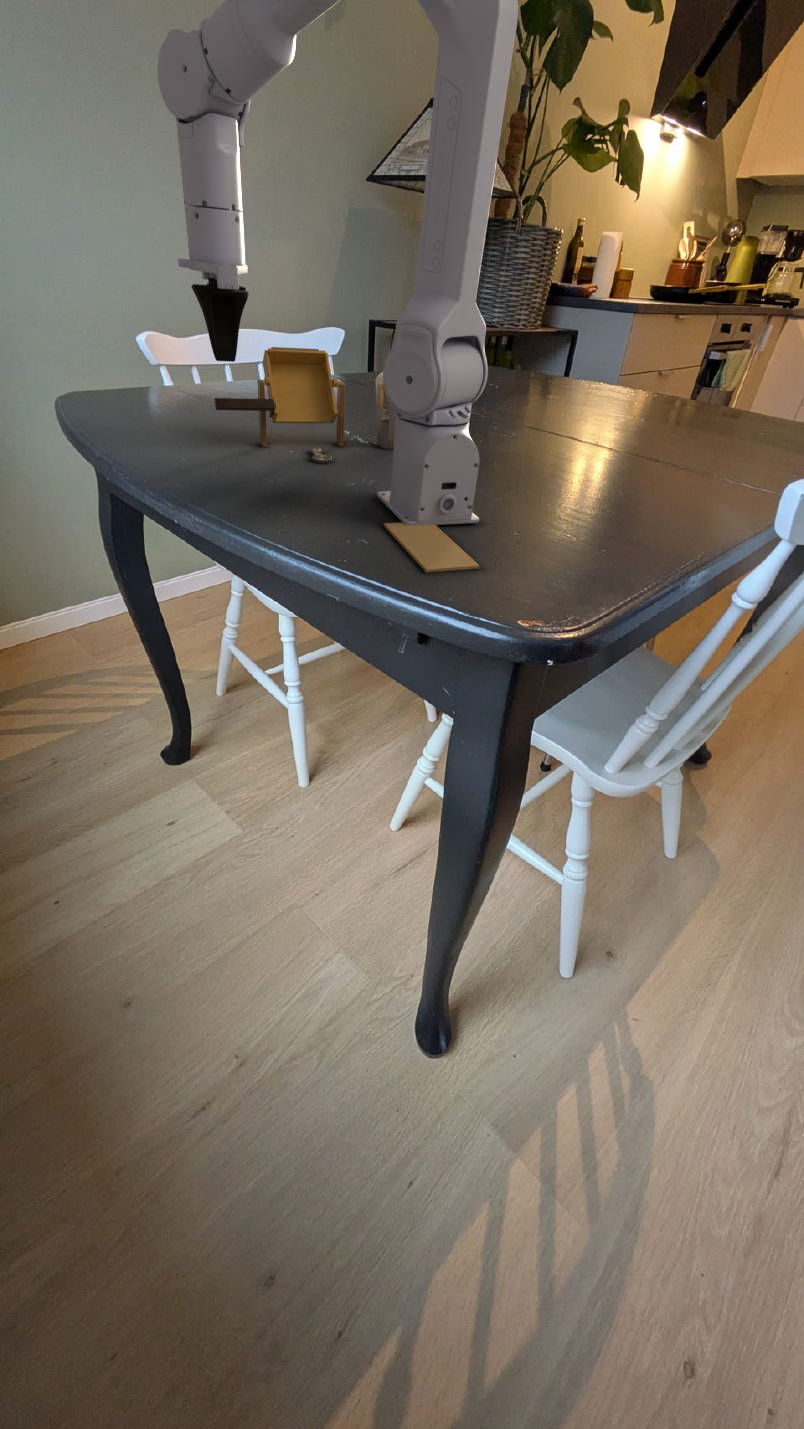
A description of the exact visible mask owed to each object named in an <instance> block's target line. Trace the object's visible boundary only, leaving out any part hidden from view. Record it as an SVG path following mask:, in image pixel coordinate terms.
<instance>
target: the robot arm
mask: <svg viewBox="0 0 804 1429" xmlns="http://www.w3.org/2000/svg"><path fill="white" fill-rule="evenodd" d="M340 1H341V0H224V1H223V2H222V3H221V4H220V6H218V8H217V9H216V10H215V11H214V12H213V13H212V14H211V15H210V16H207V17H204V19H203V20H202V21H201V23H200V27H199V28H198V29H197V30H196V29H191V30H190V31H189V32H188V31H185V30H183V29H180V28H172V29H170V30H169V31H168V32H167V35H166V37H165V39H164V40H163V42H162V44H161V46H160V49H159V52H158V59H157V80H158V86H159V90H160V94H161V98H162V100H163V102H164V105H165V106H166V108H167V110H168V111H169V112H170V114H171V115H173V116H174V117H175V121H176V132H177V142H178V143H177V144H178V152H179V163H180V174H181V183H182V194H183V196H182V197H183V203H184V213H185V216H184V217H185V222H186V223H185V224H186V225H185V226H186V236H187V247H188V256H189V259H188V258H177V262H178V263H177V264H178V267H180V268H187V269H189V270H192V271H197V272H201V279H203V280H208V282H207V283H206V284H199V283H193V284H192V285H191V289H192V291H193V293H194V295H195V297H196V300H197V302H198V304H199V307H200V310H201V312H202V315H203V317H204V321H205V325H206V329H207V332H208V337H209V342H210V347H211V350H212V353H213V356H214V359H215V361H217V362H232V363H234V362H236V358H237V353H238V352H237V351H238V345H239V344H238V343H239V335H240V334H239V332H240V326H241V320H242V316H243V312H244V310H245V307H246V303H247V301H248V299H249V294H250V293H249V291H247V289H246V288H247V287H244V286H242V285H240V281H239V280H240V279H239V276H243V275H248V272H249V270H248V265H247V264H246V250H245V230H244V213H243V199H242V179H241V177H242V176H241V163H240V162H241V159H240V154H242V153H243V152H242V151H243V149H242V148H243V147H244V127H245V125H246V124H245V123H246V121H247V118H248V115H249V113H250V107H251V99H253V97H255V96H256V95H258V93H259V92H260V91H261V90H263V89H264V88H265V87H266V86H267V85H268V84H269V83H270V82H272V81H273V80H274V79H275V78H276V77H277V76H278V75H280V74H281V73H282V72H283V71H284V70H285V69H286V68H287V67H288V66H290V65H291V64H292V63H293V60H294V58H295V54H296V46H297V35H298V34H299V33H300V32H302V31H303V30H304V29H305V28H307V27H308V26H310V25H311V24H312V23H313V22H314V21H316V20H317V19H318V18H320V17H321V16H323V15H324V14H325V13H327V11H329V10H331V9H332V8H333V7H334V6H335V5H337V4H338V3H339V2H340ZM416 1H417V2H418V4H419V6H420V8H421V9H422V11H423V12H424V14H425V16H426V17H427V19H428V20H429V22H430V23H431V25H432V27H433V28H434V31H435V32H436V34H437V36H438V49H437V51H438V52H437V61H436V72H435V80H434V90H433V102H432V103H433V104H432V112H431V121H430V129H429V130H430V132H429V143H428V154H427V162H426V171H425V172H426V173H425V182H424V190H423V191H424V193H423V202H422V210H421V211H422V213H421V220H420V221H421V223H420V232H419V240H418V241H419V242H418V254H417V263H416V273H415V281H414V282H415V283H414V292H413V294H412V297H411V299H410V301H409V302H408V303H407V305H406V306H405V308H404V309H403V311H402V312H401V314H400V315H399V316H398V318H397V320H396V323H395V333H394V339H393V343H392V346H391V348H390V350H389V352H388V354H387V357H386V358H385V362H384V365H383V369H382V372H383V385H384V390H385V393H386V396H387V398H388V401H389V402H390V404H391V405H392V407H393V408H394V412H393V416H394V417H396V419H395V433H394V448H393V449H392V463H391V464H392V465H391V478H390V490H389V491H388V490H387V491H386V490H385V491H377V493H376V497H377V498H378V499H379V500H380V501H381V502H382V503H383V504H384V505H385V506H386V507H387V509H389V510H390V511H391V512H392V513H393V514H394V516H396V517H397V519H399V521H401V522H403V523H404V524H406V525H409V526H413V525H433V524H435V525H436V526H445V525H464V524H465V525H466V524H477V523H478V524H479V522H480V518H479V516H477V515H476V514H475V513H474V512H473V509H474V504H475V503H474V502H475V495H476V490H477V483H478V475H479V469H480V453H479V450H478V447H477V445H476V443H475V442H474V440H473V439H472V437H471V436H470V431H469V429H470V418H471V414H472V406H473V404H474V403H475V402H476V401H478V399H479V398H480V396H481V395H482V394H483V392H484V390H485V389H486V385H487V382H488V376H489V366H488V361H487V356H486V351H485V341H486V340H485V339H486V333H487V326H486V321H485V320H484V318H483V316H482V313H481V312H480V309H479V307H478V305H477V301H476V300H477V294H478V289H479V288H478V287H479V281H480V275H481V267H482V261H483V254H484V247H485V242H486V234H487V227H488V222H489V221H488V220H489V214H490V209H491V208H490V207H491V200H492V193H493V188H494V181H495V175H496V168H497V161H498V155H499V147H500V142H501V141H500V140H501V133H502V127H503V121H504V114H505V108H506V100H507V95H508V94H507V93H508V87H509V80H510V74H511V67H512V61H513V55H514V54H513V53H514V47H515V41H516V35H517V26H518V18H519V17H518V16H519V2H518V0H416Z"/></svg>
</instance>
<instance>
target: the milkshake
mask: <svg viewBox="0 0 804 1429" xmlns="http://www.w3.org/2000/svg"><path fill="white" fill-rule="evenodd" d="M375 398H376V399H375V400H376V445H377V447H379V448H381V449H387V450H393V448H394V433H395V419H396V417H394V416H393V412H394V408H393V407H392V405H391V404H390V402H389V401H388V398H387V396H386V393H385V390H384V385H383V371H381V372H380V373H379V374H378V375H377V376H376V377H375Z"/></svg>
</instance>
